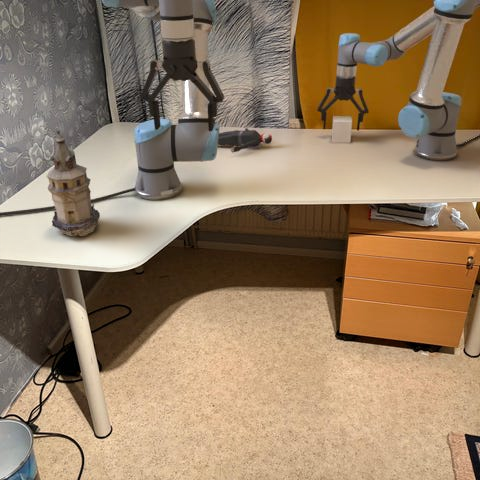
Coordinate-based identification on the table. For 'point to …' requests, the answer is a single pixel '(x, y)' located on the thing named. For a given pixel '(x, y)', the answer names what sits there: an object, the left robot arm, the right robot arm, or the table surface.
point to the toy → (243, 139)
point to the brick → (341, 129)
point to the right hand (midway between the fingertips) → (341, 129)
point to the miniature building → (70, 193)
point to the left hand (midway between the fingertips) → (184, 128)
